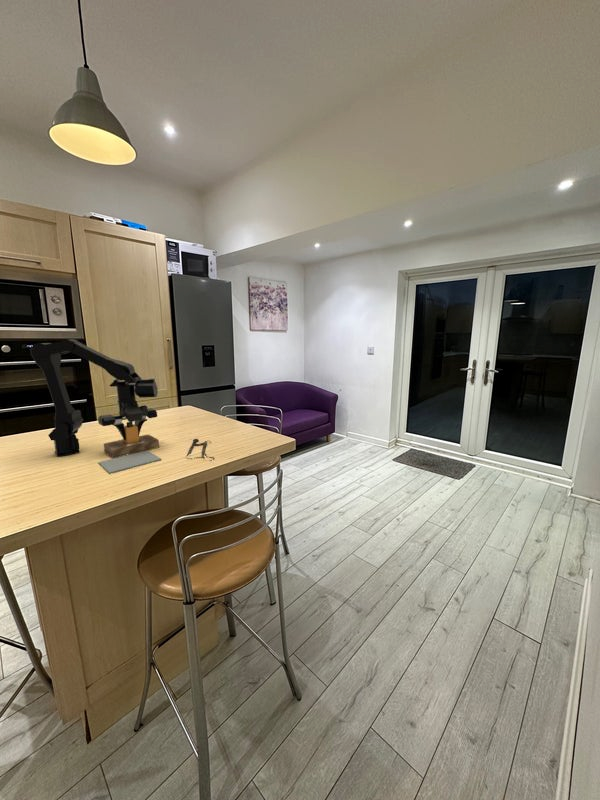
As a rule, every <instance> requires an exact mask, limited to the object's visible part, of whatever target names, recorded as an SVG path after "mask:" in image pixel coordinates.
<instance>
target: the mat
mask: <svg viewBox="0 0 600 800" xmlns="http://www.w3.org/2000/svg"><path fill="white" fill-rule="evenodd" d="M159 461H162V458H161V457H159V456H158V455H156V454H155V453H153V452H151V451H149V450H145V451H141V452H137V453H133V454H129V455H124V456H120V457H116V458H110V459H105V460H102V461H98V463H97V464H98V465H99V466H101V468H102V469H104V470H105V472H107V474H108V475H111V473H112V474H115V473H119V472H122V470H123V471H127V470H130V469H134V468H137V466H138V467H141V465H142V466H146V465H148V463H149V464H152V462H153V463H156V462H159ZM133 467H134V468H133ZM126 469H127V470H126Z"/></svg>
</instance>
